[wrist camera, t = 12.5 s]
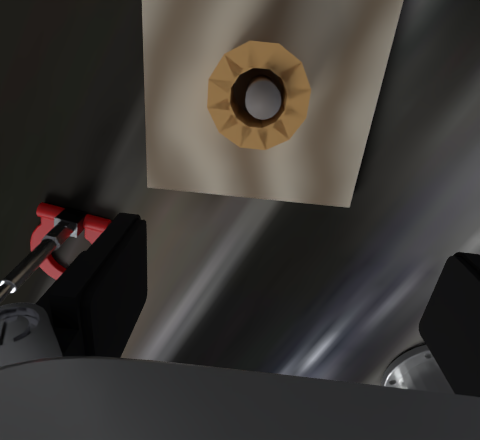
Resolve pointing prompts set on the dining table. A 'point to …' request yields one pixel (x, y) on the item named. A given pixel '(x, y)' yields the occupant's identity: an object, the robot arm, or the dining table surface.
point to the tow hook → (51, 243)
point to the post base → (331, 106)
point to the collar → (244, 124)
